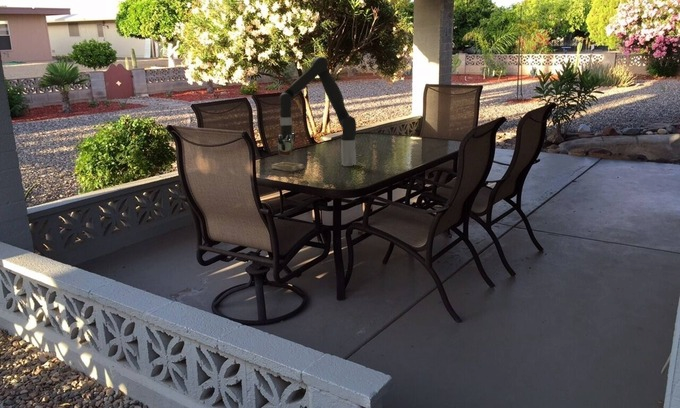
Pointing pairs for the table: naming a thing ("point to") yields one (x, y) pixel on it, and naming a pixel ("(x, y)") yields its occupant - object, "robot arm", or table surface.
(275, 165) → the tray
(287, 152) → the food container
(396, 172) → the table surface
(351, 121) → the robot arm
